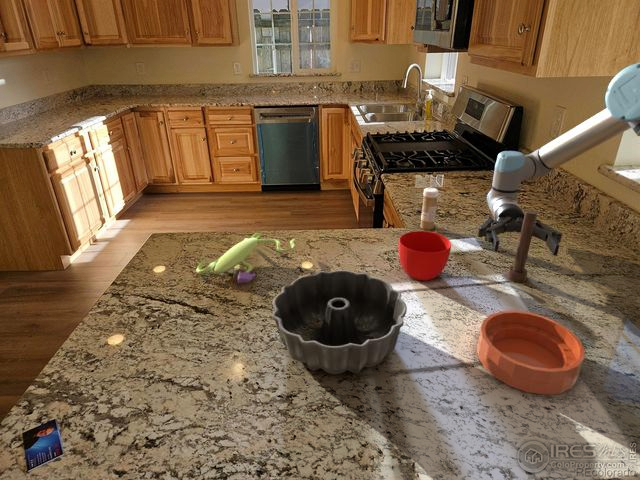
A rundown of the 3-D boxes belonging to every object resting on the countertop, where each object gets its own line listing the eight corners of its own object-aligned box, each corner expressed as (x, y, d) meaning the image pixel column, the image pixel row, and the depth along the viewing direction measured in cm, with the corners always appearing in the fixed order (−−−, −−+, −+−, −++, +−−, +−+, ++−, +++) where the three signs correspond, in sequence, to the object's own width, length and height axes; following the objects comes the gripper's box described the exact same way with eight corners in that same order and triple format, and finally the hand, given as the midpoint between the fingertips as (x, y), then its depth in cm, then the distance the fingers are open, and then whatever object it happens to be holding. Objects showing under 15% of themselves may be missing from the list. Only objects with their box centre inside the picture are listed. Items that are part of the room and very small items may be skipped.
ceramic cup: (455, 264, 117) (461, 231, 113) (438, 293, 104) (442, 258, 100) (411, 253, 123) (414, 222, 119) (388, 280, 110) (391, 245, 106)
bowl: (577, 351, 85) (585, 327, 82) (573, 412, 71) (583, 385, 69) (486, 324, 93) (491, 301, 90) (467, 374, 80) (471, 349, 77)
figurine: (305, 256, 122) (305, 238, 120) (233, 296, 104) (231, 276, 101) (261, 238, 133) (260, 222, 131) (189, 272, 114) (186, 254, 112)
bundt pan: (259, 383, 78) (255, 340, 73) (288, 302, 101) (286, 266, 97) (405, 398, 74) (410, 353, 70) (400, 310, 98) (404, 273, 94)
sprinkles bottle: (417, 226, 141) (421, 188, 135) (430, 225, 142) (434, 186, 136) (423, 232, 137) (428, 192, 131) (436, 230, 138) (441, 191, 132)
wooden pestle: (526, 278, 110) (542, 210, 102) (524, 286, 107) (540, 216, 99) (508, 274, 112) (522, 207, 104) (505, 281, 109) (520, 213, 101)
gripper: (552, 230, 121) (578, 266, 103) (461, 224, 126) (470, 257, 107) (558, 205, 118) (586, 238, 99) (465, 200, 122) (475, 230, 104)
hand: (526, 248), depth 103 cm, fingers open, 13 cm apart
